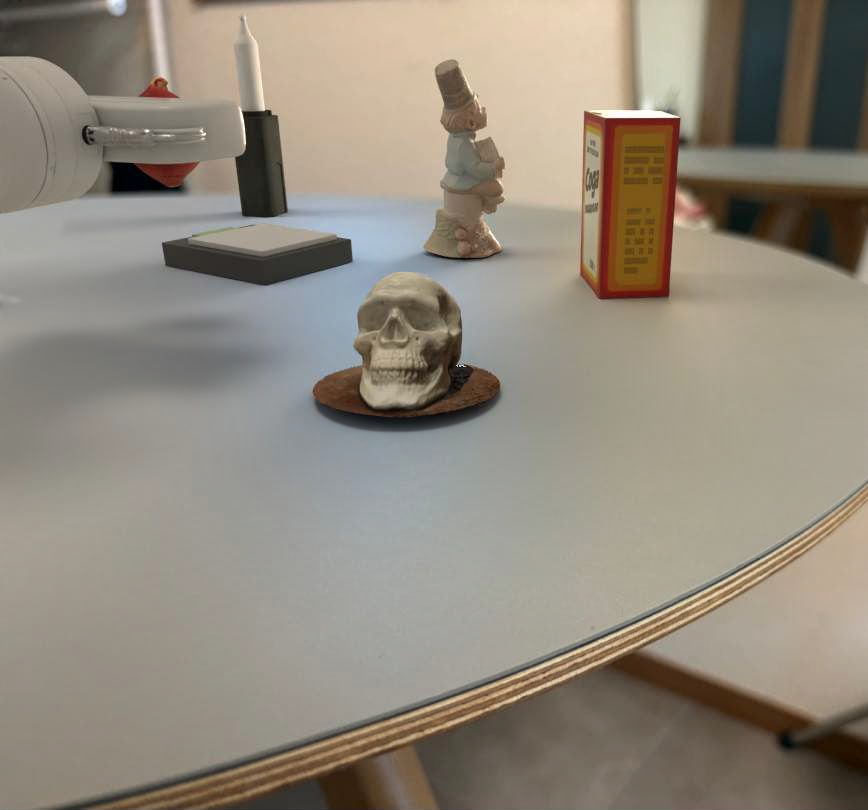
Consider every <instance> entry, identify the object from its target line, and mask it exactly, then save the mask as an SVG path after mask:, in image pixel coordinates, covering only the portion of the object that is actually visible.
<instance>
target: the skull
mask: <svg viewBox="0 0 868 810" xmlns="http://www.w3.org/2000/svg"><path fill="white" fill-rule="evenodd" d="M461 313H462V310H461V307H460V306H459V304H458V303H457V301H456V299H455V298H454V296H452V295H451V294H450V293H449V292H448V291H447V289H445V288H444V287H443V286H442V285H441V284H440V283H439V282H437V281H436V280H435V279H433V278H431V277H429V276H427V275H424V274H422V273H419V272H412V271H395V272H392V273H389V274H387V275H385V276H384V277H382V278H381V279H380V280H378V281H377V282H376V283H375V284H373V286H372V287H371V289H370V290H369V292H368V293H367V295H366V296H365V298H364V300H363V302H361V304H360V306H359V308H358V310H357V313H356V314H357V315H356V318H357V328H358V332H357V335H356V336H355V339H354V343H353V349H354V350H355V351H356V352H357V353H358V354H359V356H361V359H362V360H361V361H362V365H361V364H360V365H357V366H351V367H348V368H345V369H341V370H339V371H335V372H333V373H330V374H327V375H325V376H324V377H323V378H321V379H320V380H318V381H317V382H316V383H315V384H314V385H313V388H312V394H313V397H314V398H315V400H316V401H318V402H319V403H321V404H323V405H326V408H328V409H330V408H333V409H335V410H338V411H345V412H349V413H354V414H358V415H359V414H361V415H369V416H375V417H386V418H391V419H392V418H394V417H398V418H414V417H418V416H420V417H421V416H426V415H427V416H429V415H436V414H440V413H450V412H452V411H453V412H455V411H456V412H459V410H460V411H461V410H463V409H466V408H470V407H471V408H477V406H478V407H481V406H482V403H483V402H489V401H490V400H489V399H494V397H495V395H496V394H498V392H499V391H500V389H501V382H500V379H499V378H498V377H497V375H494V374H493V373H492V372H491V371H488V370H486V369H484V368H480V367H479V366H478V367H479V368H478V367H477V366H475V365H471V364H466V363H464V364H463V365H464V366H466V367H463V366H461V367H459V365H461V364H460V363H459V361H460V360H461V356H462V346H463V320H462V319H463V318H462V314H461ZM457 364H459V365H458V367H457V366H456V365H457ZM476 405H477V406H476Z"/></svg>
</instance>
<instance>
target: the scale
mask: <svg viewBox="0 0 868 810" xmlns="http://www.w3.org/2000/svg"><path fill="white" fill-rule="evenodd" d="M161 246H162V252H163V259H164V265H165V266H167V267H172V268H176V269H183V270H188V271H192V272H197V273H202V274H207V275H212V276H217V277H222V278H226V279H230V280H231V279H232V280H236V281H242V282H247V283H251V284H257V285H262V286H267V285H271V284H274V283H278V282H282V281H286V280H289V279H293V278H297V277H300V276H305V275H309V274H312V273H315V272H319V271H323V270H326V269H330V268H334V267H338V266H341V265H345V264H348V263H353V260H354V258H353V246H352V239H351V238H345V237H339V236H338V234H337V233H332V232H326V231H319V230H313V229H312V230H311V229H306V228H305V229H304V228H297V227H292V226H286V225H285V226H284V225H277V224H273V223H267V222H266V223H259V224H250V225H245V226H239V227H233V226H227V227H223V228H218V229H213V230H208V231H207V230H206V231H202V232H197V233H192V234H191V236H189V237H183V238H178V239H173V240H168V241H163V242H161Z"/></svg>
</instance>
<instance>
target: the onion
mask: <svg viewBox="0 0 868 810" xmlns="http://www.w3.org/2000/svg"><path fill="white" fill-rule="evenodd" d="M168 85H169V81H167V80H166V78H164V77H162V76H156V77H154V78H152V79H151V80H150V82H149V84H148V86H147V87H146V89H145V90H144V91H143V92H142V93H140V94H139V95H137V97H155V98H180V96H178V95H176V94H175V93H173V92H171V91H170V90H169V88H168ZM200 163H201V162H192V163H182V164H148V163H133V164H134V165H135V166H136V167H138V168H139V169H140V170H141V171H142V172H143V173H144V174H146V175H148V176H149V177H150V178H152V179H153V180H155V181H158V182H159V183H160V184H162V185H164V186H165V187H168V188H176V187H179V186H180V185H182V184H183V182H184V180H185V179H186V178H187V177H188V176H189V175H190V174H191V173H192V172H193V171H194V170H195V169H196V168H197V167H198V165H199V164H200Z"/></svg>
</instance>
